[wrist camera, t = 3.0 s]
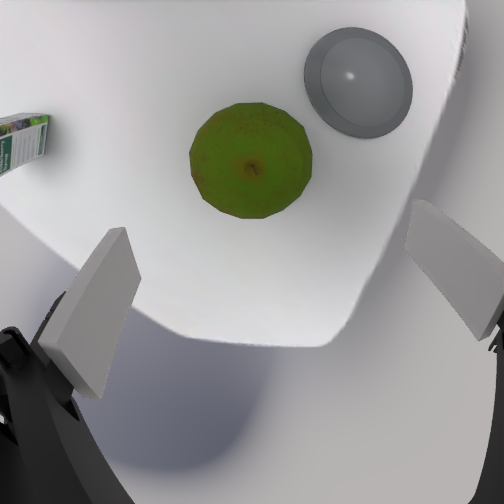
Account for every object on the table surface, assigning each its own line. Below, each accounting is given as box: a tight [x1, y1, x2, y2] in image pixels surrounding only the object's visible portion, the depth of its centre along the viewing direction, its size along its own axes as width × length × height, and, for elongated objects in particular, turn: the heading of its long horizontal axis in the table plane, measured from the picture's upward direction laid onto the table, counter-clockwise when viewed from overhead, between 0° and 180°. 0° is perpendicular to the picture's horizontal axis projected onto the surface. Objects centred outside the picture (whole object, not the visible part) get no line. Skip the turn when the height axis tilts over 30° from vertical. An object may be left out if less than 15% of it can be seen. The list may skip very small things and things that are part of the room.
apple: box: [189, 103, 312, 219], centre depth 26 cm, size 11×11×11 cm
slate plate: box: [304, 27, 413, 138], centre depth 26 cm, size 14×14×2 cm
